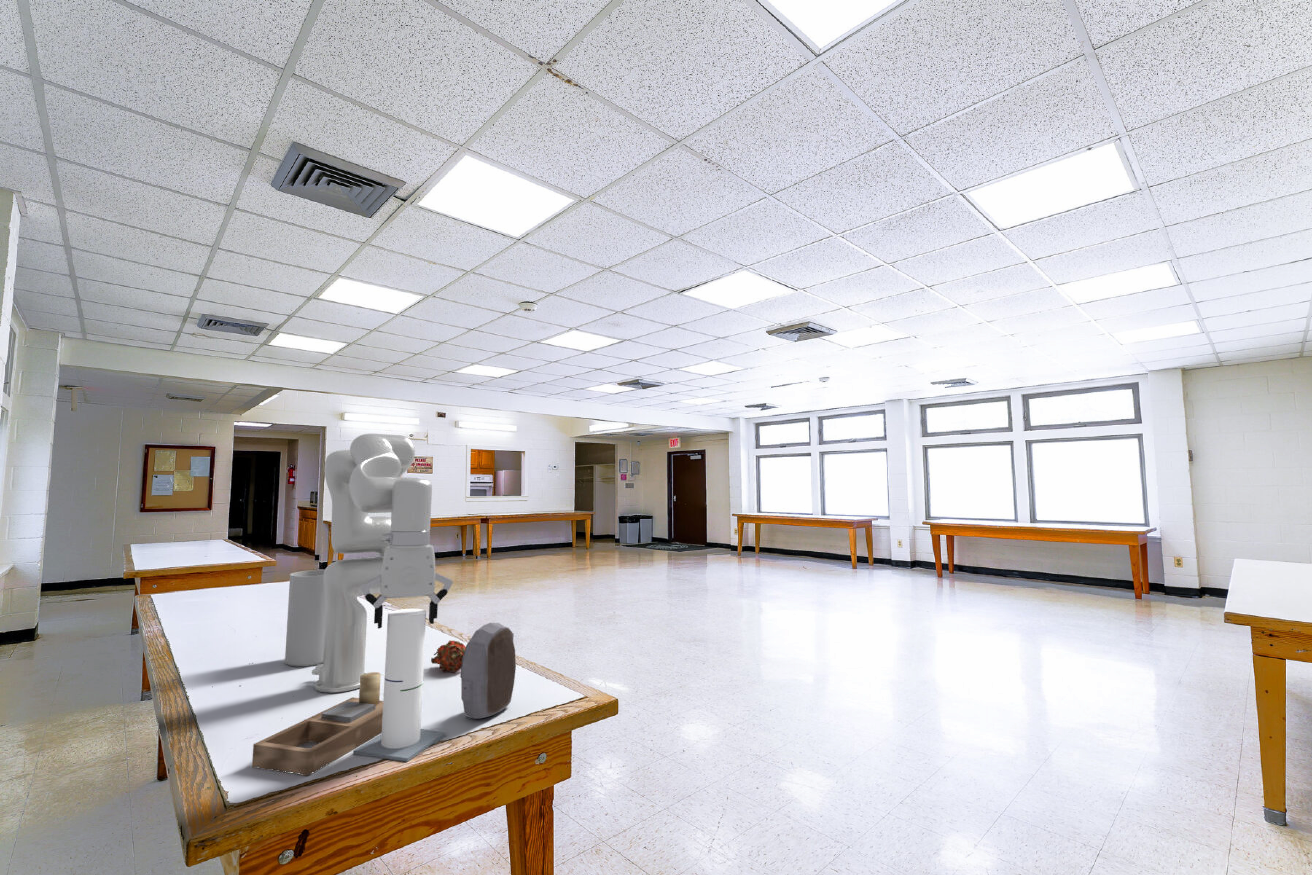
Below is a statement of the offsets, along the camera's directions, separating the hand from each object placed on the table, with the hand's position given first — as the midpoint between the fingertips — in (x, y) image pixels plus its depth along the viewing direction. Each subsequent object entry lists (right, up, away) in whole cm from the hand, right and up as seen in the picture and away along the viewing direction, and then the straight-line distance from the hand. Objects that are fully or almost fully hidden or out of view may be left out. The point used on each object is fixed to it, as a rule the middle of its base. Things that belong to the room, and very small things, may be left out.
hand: (405, 624), depth 118 cm
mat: (0, -23, -2) cm, 23 cm away
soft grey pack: (+12, -25, +15) cm, 31 cm away
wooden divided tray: (-14, -23, -2) cm, 27 cm away
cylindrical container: (0, -23, -2) cm, 23 cm away
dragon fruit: (-7, -27, +44) cm, 52 cm away
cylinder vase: (-49, -27, +50) cm, 75 cm away
